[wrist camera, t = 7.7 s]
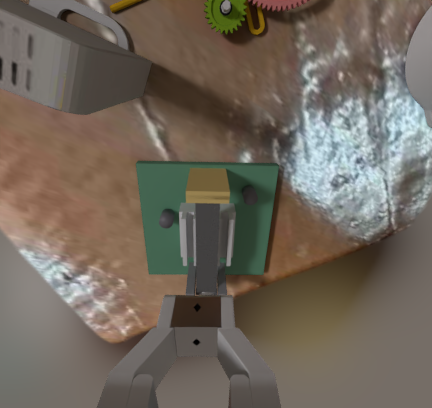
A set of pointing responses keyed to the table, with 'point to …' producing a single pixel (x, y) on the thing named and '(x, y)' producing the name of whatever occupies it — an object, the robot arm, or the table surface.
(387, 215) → the table surface
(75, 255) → the table surface
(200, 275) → the strap
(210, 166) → the board
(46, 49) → the network device
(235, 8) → the mechanical gear assembly
